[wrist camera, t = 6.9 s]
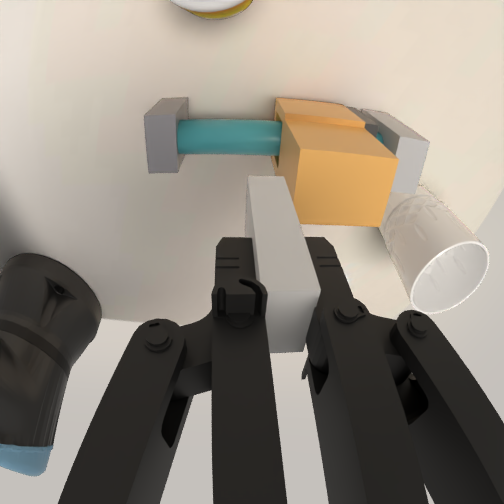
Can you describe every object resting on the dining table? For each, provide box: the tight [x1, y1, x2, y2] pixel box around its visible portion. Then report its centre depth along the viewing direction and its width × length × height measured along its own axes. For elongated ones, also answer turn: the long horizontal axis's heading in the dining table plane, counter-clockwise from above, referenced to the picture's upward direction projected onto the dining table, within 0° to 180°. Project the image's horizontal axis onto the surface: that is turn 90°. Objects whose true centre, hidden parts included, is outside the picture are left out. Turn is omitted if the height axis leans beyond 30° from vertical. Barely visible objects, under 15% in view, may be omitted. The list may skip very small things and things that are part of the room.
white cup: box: [378, 185, 490, 314], centre depth 26 cm, size 8×8×10 cm
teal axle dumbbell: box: [144, 97, 430, 194], centre depth 21 cm, size 18×5×7 cm, turn 87°
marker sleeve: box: [271, 98, 399, 227], centre depth 19 cm, size 5×5×10 cm
